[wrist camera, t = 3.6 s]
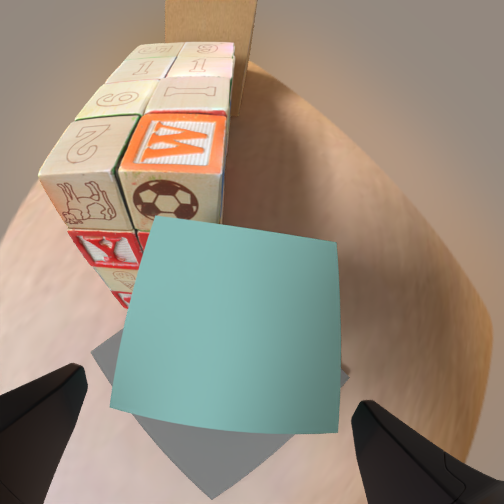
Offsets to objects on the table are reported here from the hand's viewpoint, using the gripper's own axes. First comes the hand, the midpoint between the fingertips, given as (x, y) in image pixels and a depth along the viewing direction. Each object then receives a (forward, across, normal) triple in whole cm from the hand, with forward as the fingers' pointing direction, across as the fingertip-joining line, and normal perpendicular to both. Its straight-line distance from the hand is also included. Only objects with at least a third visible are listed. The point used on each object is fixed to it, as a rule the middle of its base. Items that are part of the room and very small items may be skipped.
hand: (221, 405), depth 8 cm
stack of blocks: (+18, +5, -4) cm, 19 cm away
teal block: (+7, 0, +5) cm, 9 cm away
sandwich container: (+32, +6, -18) cm, 37 cm away
